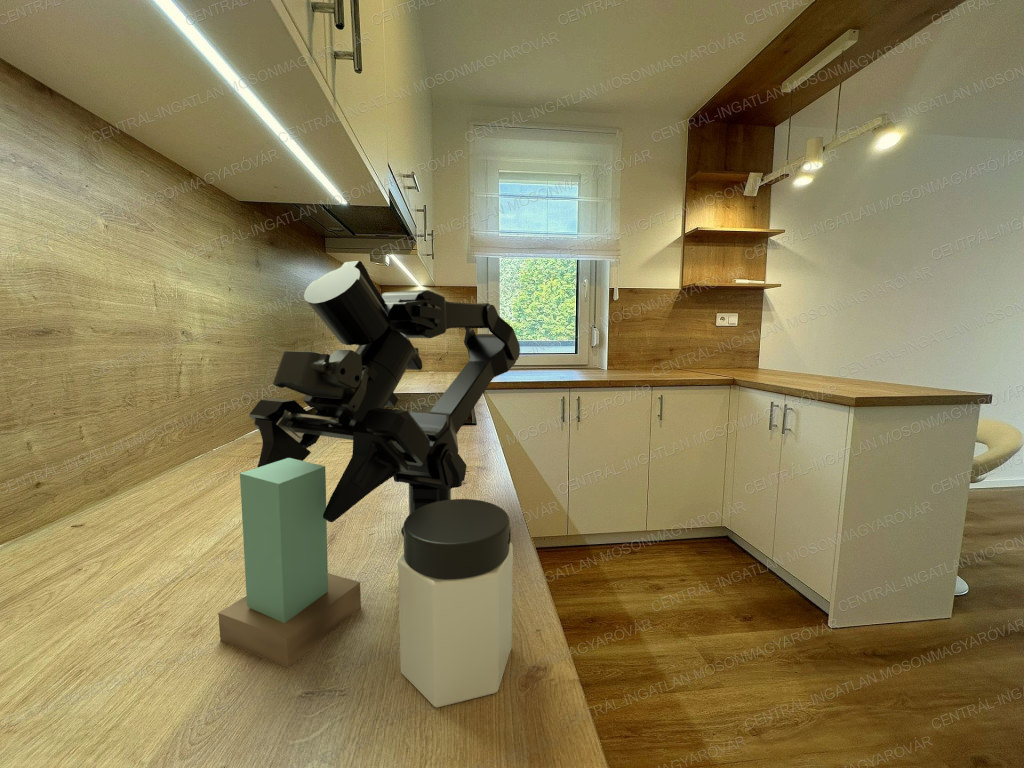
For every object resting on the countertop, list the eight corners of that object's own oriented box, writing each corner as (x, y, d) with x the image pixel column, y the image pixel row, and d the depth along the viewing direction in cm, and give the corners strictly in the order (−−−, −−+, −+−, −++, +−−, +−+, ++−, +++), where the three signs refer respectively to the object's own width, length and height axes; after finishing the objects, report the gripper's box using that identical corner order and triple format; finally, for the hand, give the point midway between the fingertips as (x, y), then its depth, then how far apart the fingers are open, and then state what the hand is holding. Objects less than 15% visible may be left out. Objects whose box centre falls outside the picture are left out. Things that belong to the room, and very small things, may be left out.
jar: (533, 662, 33) (536, 519, 32) (454, 732, 27) (452, 560, 26) (461, 611, 39) (461, 489, 38) (383, 659, 33) (379, 517, 32)
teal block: (292, 577, 39) (288, 457, 38) (328, 591, 38) (325, 466, 36) (247, 606, 35) (239, 473, 33) (284, 623, 33) (278, 483, 32)
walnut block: (300, 592, 42) (298, 564, 42) (361, 611, 40) (359, 582, 39) (220, 645, 35) (218, 612, 35) (288, 673, 32) (286, 638, 32)
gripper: (261, 321, 43) (142, 452, 34) (408, 319, 35) (306, 485, 26) (326, 387, 51) (244, 507, 42) (456, 397, 43) (390, 544, 35)
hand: (288, 510), depth 36 cm, fingers open, 9 cm apart
